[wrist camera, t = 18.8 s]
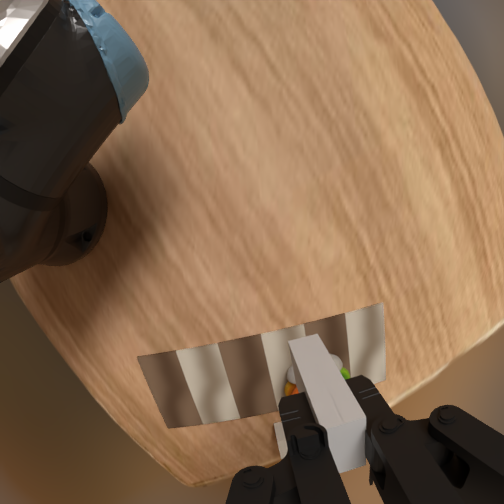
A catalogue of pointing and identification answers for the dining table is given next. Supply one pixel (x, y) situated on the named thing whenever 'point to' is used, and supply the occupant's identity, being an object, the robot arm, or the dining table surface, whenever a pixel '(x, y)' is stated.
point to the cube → (281, 439)
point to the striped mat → (257, 368)
